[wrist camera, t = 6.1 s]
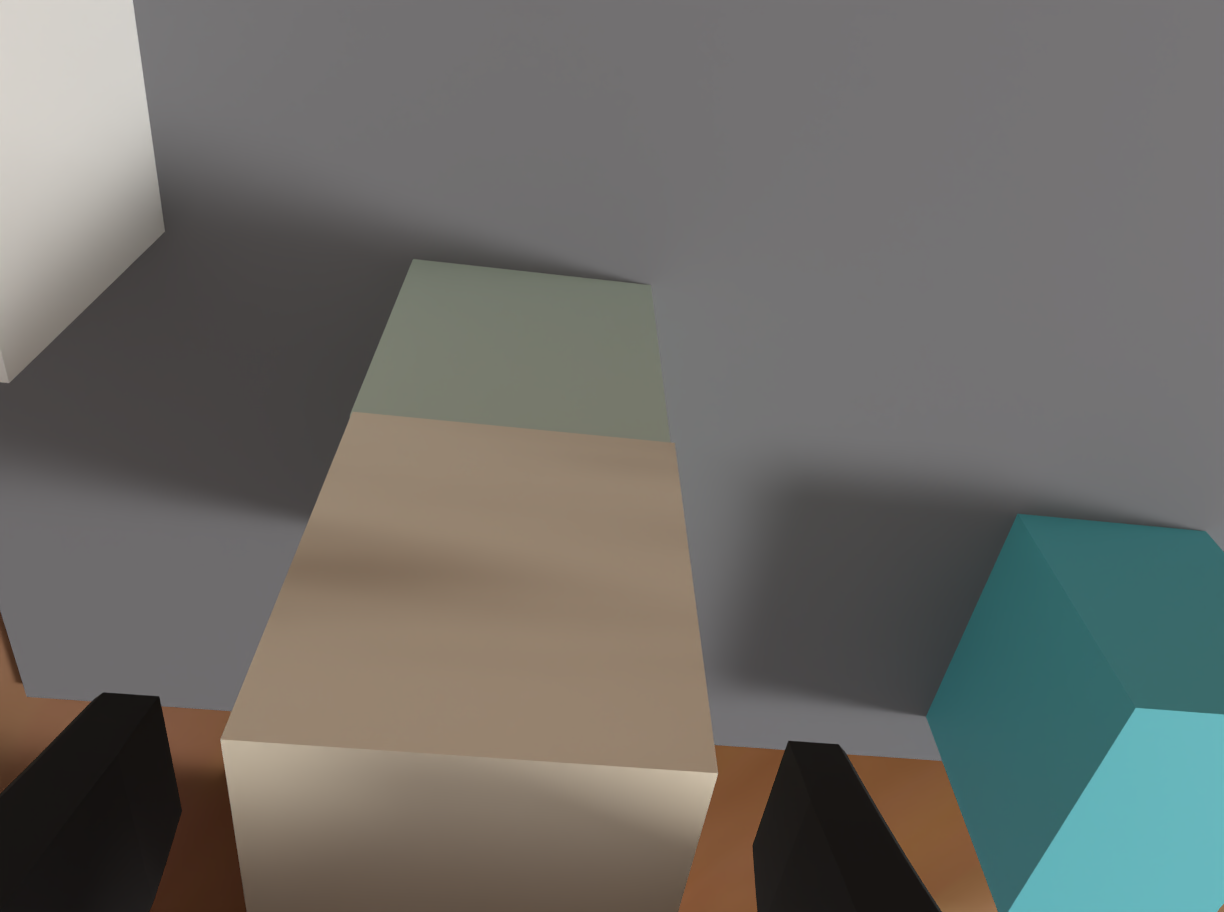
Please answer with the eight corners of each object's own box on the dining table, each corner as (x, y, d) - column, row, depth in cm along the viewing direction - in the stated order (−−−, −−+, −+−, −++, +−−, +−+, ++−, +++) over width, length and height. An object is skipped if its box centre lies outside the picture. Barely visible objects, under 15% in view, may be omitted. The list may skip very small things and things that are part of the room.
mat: (1153, 766, 24) (1159, 775, 24) (33, 686, 22) (26, 696, 22) (1857, -278, 12) (1882, -280, 12) (-379, -677, 10) (-403, -689, 10)
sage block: (607, 556, 20) (612, 756, 15) (409, 539, 19) (360, 739, 15) (650, 285, 16) (670, 446, 12) (412, 258, 16) (348, 416, 12)
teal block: (1088, 728, 23) (1198, 933, 19) (925, 716, 22) (1001, 921, 18) (1205, 531, 19) (1372, 725, 15) (1017, 513, 19) (1135, 708, 15)
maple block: (614, 754, 15) (622, 1102, 11) (361, 736, 15) (273, 1088, 11) (674, 443, 12) (718, 773, 8) (352, 411, 12) (220, 739, 8)
